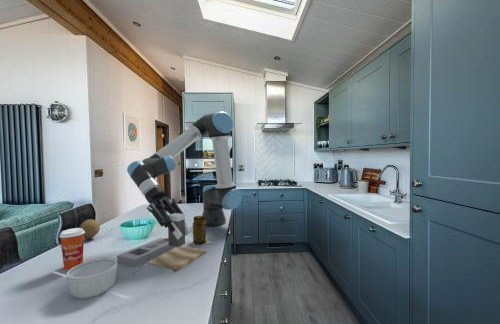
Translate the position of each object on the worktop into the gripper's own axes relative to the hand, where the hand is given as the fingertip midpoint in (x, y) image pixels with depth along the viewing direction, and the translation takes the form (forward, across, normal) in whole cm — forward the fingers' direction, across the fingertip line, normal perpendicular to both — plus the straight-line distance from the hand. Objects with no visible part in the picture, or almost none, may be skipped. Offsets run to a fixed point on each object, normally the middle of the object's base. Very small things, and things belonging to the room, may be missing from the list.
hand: (184, 235), depth 94 cm
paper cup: (-17, +22, -32) cm, 42 cm away
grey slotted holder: (-5, +2, -19) cm, 20 cm away
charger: (0, 0, -6) cm, 6 cm away
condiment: (+2, -18, -12) cm, 22 cm away
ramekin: (-2, +28, -16) cm, 32 cm away
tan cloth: (+4, 0, -10) cm, 10 cm away
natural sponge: (-36, 0, -51) cm, 62 cm away
